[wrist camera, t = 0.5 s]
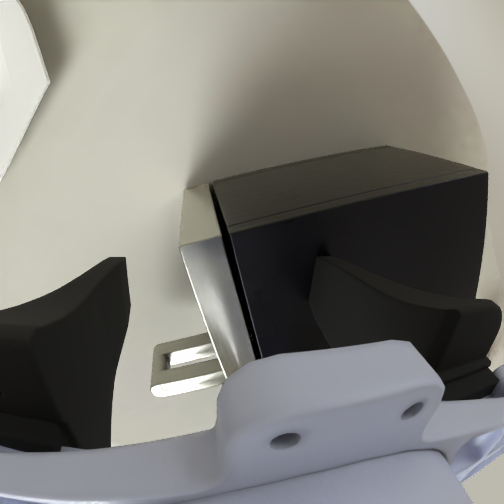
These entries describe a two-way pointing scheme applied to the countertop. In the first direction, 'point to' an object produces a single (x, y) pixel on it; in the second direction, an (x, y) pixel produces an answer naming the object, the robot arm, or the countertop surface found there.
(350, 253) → the microwave
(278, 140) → the countertop surface
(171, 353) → the microwave door
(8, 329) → the robot arm
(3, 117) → the plate
